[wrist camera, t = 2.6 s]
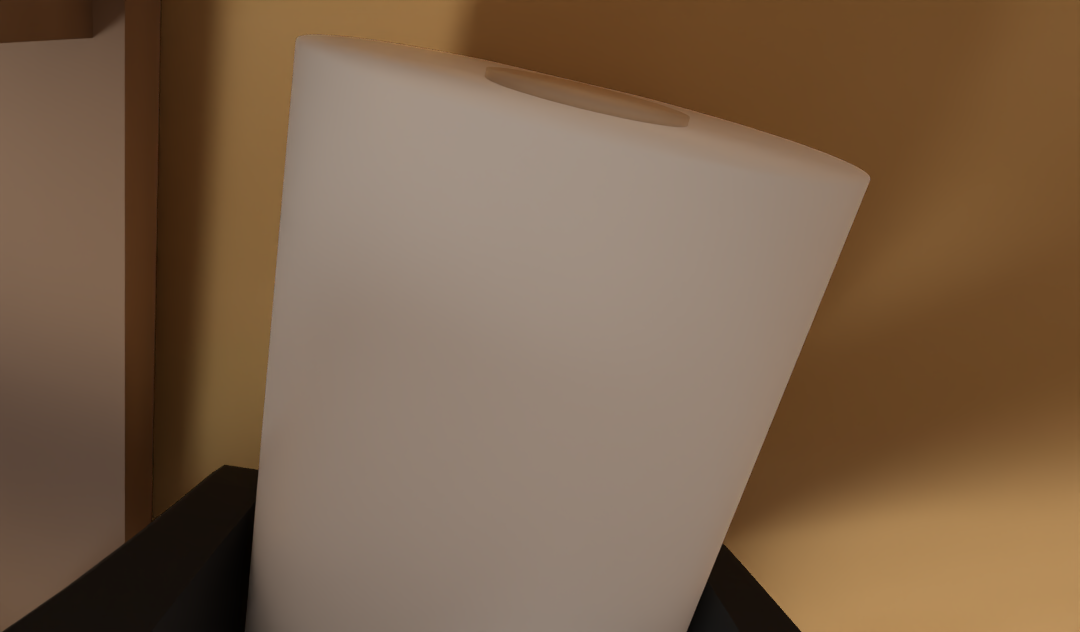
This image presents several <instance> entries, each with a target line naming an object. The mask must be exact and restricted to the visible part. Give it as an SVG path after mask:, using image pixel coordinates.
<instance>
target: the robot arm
mask: <svg viewBox="0 0 1080 632" xmlns="http://www.w3.org/2000/svg"><path fill="white" fill-rule="evenodd" d="M258 472H259V470H255V469H249V468H242V467H235V466H229V465H224V466H222V467H220V468H219V469H217V470H216V471H214V472H213V473H212V474H210V475H209V476H208V477H207V478H205V479H204V480H203V481H202V482H201V483H199V484H198V485H197V486H196V487H194V488H193V489H192V490H191V491H190V492H188V493H187V494H186V495H185V496H184V497H182V498H181V499H180V500H179V501H177V502H176V503H175V504H174V505H172V506H171V507H170V508H169V509H168V510H166V511H165V512H164V513H163V514H161V515H160V516H159V517H158V518H156V519H155V520H154V521H152V522H151V523H150V524H149V525H147V526H146V527H145V528H144V529H142V530H141V531H140V532H139V533H137V534H136V535H135V536H134V537H132V538H131V539H130V540H128V541H127V542H126V543H124V544H123V545H122V546H120V547H119V548H118V549H116V550H115V551H114V552H112V553H111V554H110V555H108V556H107V557H106V558H104V559H103V560H102V561H100V562H99V563H98V564H96V565H95V566H94V567H92V568H91V569H90V570H89V571H87V572H86V573H85V574H83V575H82V576H81V577H79V578H78V579H77V580H75V581H74V582H72V583H71V584H70V585H68V586H67V587H66V588H64V589H63V590H61V591H60V592H59V593H57V594H56V595H54V596H53V597H51V598H50V599H49V600H47V601H46V602H44V603H43V604H41V605H40V606H38V607H37V608H35V609H34V610H33V611H31V612H30V613H28V614H27V615H25V616H24V617H22V618H21V619H20V620H18V621H17V622H15V623H14V624H12V625H11V626H9V627H8V628H7V629H5V630H4V631H2V632H245V622H246V610H247V599H248V587H249V576H250V564H251V553H252V541H253V529H254V518H255V506H256V495H257V483H258ZM687 632H801V631H800V630H799V628H798V627H797V626H796V625H795V624H794V623H793V622H792V621H791V619H790V618H789V617H788V616H787V615H786V614H785V613H784V611H783V610H782V609H781V608H780V607H779V606H778V605H777V603H776V602H775V601H774V600H773V599H772V598H771V597H770V595H769V594H768V593H767V592H766V591H765V590H764V589H763V587H762V586H761V585H760V584H759V583H758V582H757V581H756V579H755V578H754V577H753V576H752V575H751V574H750V573H749V571H748V570H747V569H746V568H745V567H744V566H743V565H742V564H741V562H740V561H739V560H738V559H737V558H736V557H735V556H734V555H733V554H732V553H731V551H730V550H729V549H728V548H727V547H726V546H725V545H724V544H723V543H722V546H721V548H720V551H719V553H718V555H717V558H716V560H715V563H714V565H713V568H712V570H711V573H710V575H709V578H708V580H707V582H706V585H705V587H704V590H703V592H702V595H701V597H700V600H699V602H698V605H697V607H696V609H695V612H694V614H693V617H692V619H691V622H690V624H689V627H688V629H687Z"/></svg>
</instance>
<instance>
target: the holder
mask: <svg viewBox="0 0 1080 632" xmlns="http://www.w3.org/2000/svg"><path fill="white" fill-rule="evenodd" d="M160 20H161V0H0V632H2V631H4V630H5V629H7V628H8V627H9V626H11V625H12V624H14V623H15V622H17V621H18V620H20V619H21V618H22V617H24V616H25V615H27V614H28V613H30V612H31V611H33V610H34V609H35V608H37V607H38V606H40V605H41V604H43V603H44V602H46V601H47V600H49V599H50V598H51V597H53V596H54V595H56V594H57V593H59V592H60V591H61V590H63V589H64V588H66V587H67V586H68V585H70V584H71V583H72V582H74V581H75V580H77V579H78V578H79V577H81V576H82V575H83V574H85V573H86V572H87V571H89V570H90V569H91V568H92V567H94V566H95V565H96V564H98V563H99V562H100V561H102V560H103V559H104V558H106V557H107V556H108V555H110V554H111V553H112V552H114V551H115V550H116V549H118V548H119V547H120V546H122V545H123V544H124V543H126V542H127V541H128V540H130V539H131V538H132V537H134V536H135V535H136V534H137V533H139V532H140V531H141V530H142V529H144V528H145V527H146V526H147V525H149V524H150V523H151V522H152V469H153V413H154V357H155V301H156V244H157V188H158V132H159V76H160Z"/></svg>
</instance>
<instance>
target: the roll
mask: <svg viewBox="0 0 1080 632" xmlns="http://www.w3.org/2000/svg"><path fill="white" fill-rule="evenodd" d="M869 182H870V176H869V175H868V174H867V173H866V172H865V171H863V170H861V169H860V168H858V167H856V166H854V165H852V164H850V163H848V162H846V161H844V160H842V159H839V158H837V157H834V156H832V155H829V154H827V153H824V152H822V151H819V150H816V149H814V148H811V147H808V146H806V145H803V144H800V143H797V142H794V141H791V140H788V139H785V138H782V137H779V136H776V135H773V134H770V133H767V132H764V131H761V130H757V129H754V128H751V127H748V126H744V125H741V124H738V123H734V122H731V121H728V120H724V119H721V118H718V117H714V116H711V115H707V114H704V113H700V112H697V111H693V110H690V109H686V108H682V107H679V106H675V105H671V104H668V103H664V102H660V101H656V100H653V99H649V98H645V97H641V96H638V95H634V94H630V93H625V92H621V91H617V90H613V89H608V88H604V87H600V86H596V85H591V84H587V83H583V82H578V81H574V80H570V79H566V78H561V77H557V76H553V75H549V74H544V73H540V72H536V71H532V70H527V69H523V68H519V67H515V66H510V65H506V64H502V63H498V62H493V61H489V60H484V59H479V58H474V57H469V56H464V55H459V54H454V53H449V52H443V51H438V50H433V49H427V48H422V47H416V46H410V45H404V44H398V43H392V42H385V41H379V40H372V39H364V38H356V37H348V36H337V35H321V34H313V35H302V36H299V37H298V38H297V39H296V43H295V55H294V66H293V78H292V89H291V101H290V113H289V124H288V136H287V147H286V159H285V171H284V182H283V194H282V205H281V217H280V228H279V240H278V252H277V263H276V275H275V286H274V298H273V309H272V321H271V333H270V344H269V356H268V367H267V379H266V390H265V402H264V414H263V425H262V437H261V448H260V460H259V472H258V483H257V495H256V506H255V518H254V529H253V541H252V553H251V564H250V576H249V587H248V599H247V610H246V622H245V632H687V629H688V627H689V624H690V622H691V619H692V617H693V614H694V612H695V609H696V607H697V605H698V602H699V600H700V597H701V595H702V592H703V590H704V587H705V585H706V582H707V580H708V578H709V575H710V573H711V570H712V568H713V565H714V563H715V560H716V558H717V555H718V553H719V551H720V548H721V546H722V543H723V541H724V538H725V536H726V533H727V531H728V528H729V526H730V523H731V521H732V519H733V516H734V514H735V511H736V509H737V506H738V504H739V501H740V499H741V496H742V494H743V492H744V489H745V487H746V484H747V482H748V479H749V477H750V474H751V472H752V469H753V467H754V465H755V462H756V460H757V457H758V455H759V452H760V450H761V447H762V445H763V442H764V440H765V437H766V435H767V433H768V430H769V428H770V425H771V423H772V420H773V418H774V415H775V413H776V410H777V408H778V406H779V403H780V401H781V398H782V396H783V393H784V391H785V388H786V386H787V383H788V381H789V378H790V376H791V374H792V371H793V369H794V366H795V364H796V361H797V359H798V356H799V354H800V351H801V349H802V347H803V344H804V342H805V339H806V337H807V334H808V332H809V329H810V327H811V324H812V322H813V320H814V317H815V315H816V312H817V310H818V307H819V305H820V302H821V300H822V297H823V295H824V292H825V290H826V288H827V285H828V283H829V280H830V278H831V275H832V273H833V270H834V268H835V265H836V263H837V261H838V258H839V256H840V253H841V251H842V248H843V246H844V243H845V241H846V238H847V236H848V234H849V231H850V229H851V226H852V224H853V221H854V219H855V216H856V214H857V211H858V209H859V206H860V204H861V202H862V199H863V197H864V194H865V192H866V189H867V187H868V184H869Z"/></svg>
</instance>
